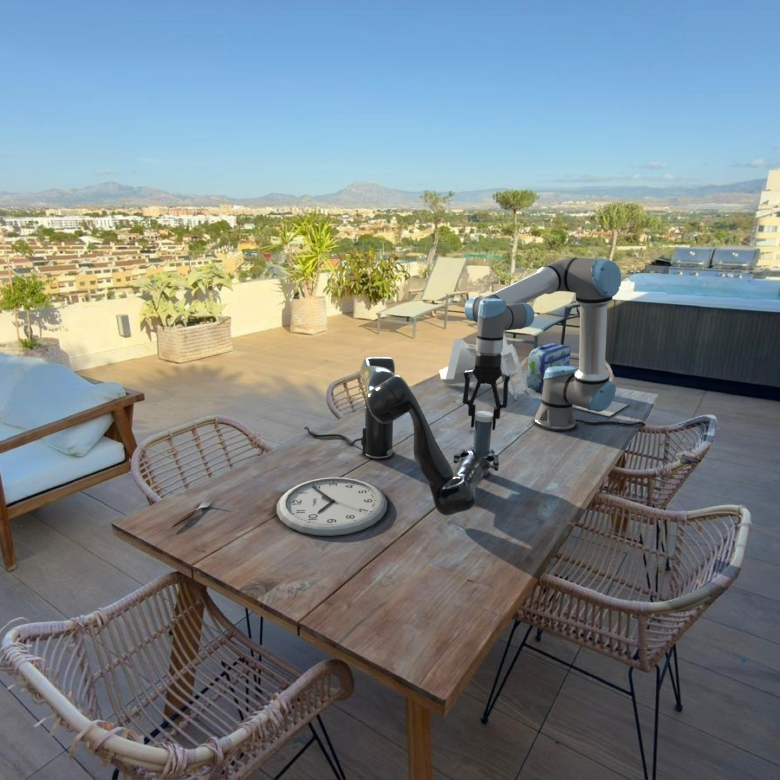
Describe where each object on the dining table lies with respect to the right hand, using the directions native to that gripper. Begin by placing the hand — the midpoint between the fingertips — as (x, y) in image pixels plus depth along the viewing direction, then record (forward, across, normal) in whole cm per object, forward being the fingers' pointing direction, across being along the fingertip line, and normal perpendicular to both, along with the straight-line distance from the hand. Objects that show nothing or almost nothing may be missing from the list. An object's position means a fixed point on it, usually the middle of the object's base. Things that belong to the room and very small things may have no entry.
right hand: (483, 427), depth 159 cm
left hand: (+9, 0, -3) cm, 9 cm away
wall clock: (+15, +36, +32) cm, 51 cm away
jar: (+15, 0, 0) cm, 15 cm away
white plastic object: (+15, +9, -84) cm, 86 cm away
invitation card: (+15, -44, -80) cm, 93 cm away
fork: (+15, +70, +47) cm, 85 cm away
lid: (-4, 0, 0) cm, 4 cm away
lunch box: (+15, -21, -102) cm, 105 cm away
